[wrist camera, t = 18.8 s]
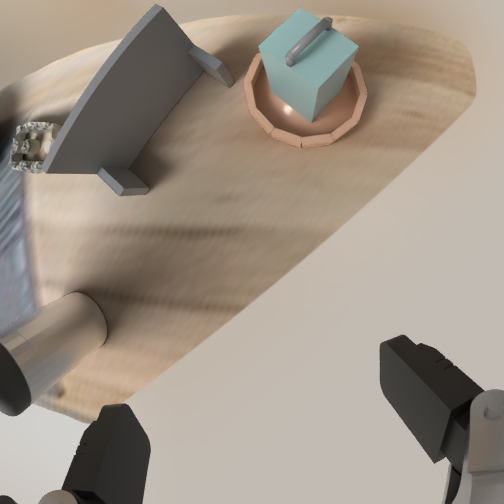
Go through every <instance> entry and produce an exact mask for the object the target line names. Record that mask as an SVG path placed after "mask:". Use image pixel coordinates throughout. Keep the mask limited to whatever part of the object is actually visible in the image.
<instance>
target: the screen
mask: <svg viewBox="0 0 504 504" xmlns="http://www.w3.org/2000/svg"><path fill="white" fill-rule="evenodd" d="M204 71H205V72H206V73H208V74H209V75H211V76H213V77H214V78H215V79H217V80H218V81H220V82H221V83H223V84H224V85H226V86H227V87H229V88H230V87H231V86H232V85H233V83H234V82H235V81H234V79H233V78H232V76H231V74H230V73H229V71H228V70H227V68H226V67H225V65H224V63H223V62H222V61H220V60H218V59H217V58H215V57H214V56H212V55H210V54H209V53H207V52H205V51H204V50H202V49H200V48H199V47H197V46H195V45H194V44H193V43H192V42H191V40H190V39H189V38H188V37H187V35H186V34H185V33H184V32H183V30H182V29H181V28H180V27H179V26H178V24H177V23H176V22H175V21H174V20H173V18H172V17H171V16H170V15H169V14H168V12H166V10H165V9H164V8H163V7H161V6H159V5H157V4H155V5H154V6H153V7H152V8H151V9H150V10H149V11H148V12H147V13H146V14H145V15H144V16H143V17H142V19H141V20H140V21H139V22H138V23H137V24H136V25H135V26H134V27H133V29H132V30H131V31H130V32H129V33H128V34H127V35H126V37H125V38H124V39H123V40H122V41H121V43H120V44H119V45H118V46H117V48H116V49H115V50H114V51H113V53H112V54H111V55H110V56H109V58H108V59H107V60H106V62H105V63H104V64H103V66H102V67H101V68H100V70H99V71H98V72H97V74H96V75H95V77H94V78H93V79H92V81H91V82H90V84H89V85H88V87H87V88H86V90H85V91H84V93H83V94H82V96H81V97H80V99H79V100H78V102H77V103H76V105H75V106H74V108H73V110H72V111H71V113H70V115H69V116H68V118H67V120H66V121H65V123H64V125H63V126H62V128H61V130H60V132H59V133H58V135H57V137H56V139H55V141H54V143H53V144H52V146H51V148H50V150H49V152H48V154H47V156H46V158H45V160H44V162H43V164H42V166H41V168H42V169H43V170H44V172H45V173H46V174H97V175H98V176H99V177H100V178H101V179H102V180H103V181H104V182H105V183H106V184H107V185H108V186H109V187H110V188H111V189H112V190H113V191H114V192H115V193H116V194H117V195H119V196H132V195H146V193H147V192H148V190H149V189H150V187H148V186H147V185H146V184H145V183H144V182H143V181H142V180H141V179H140V178H138V177H137V176H136V175H135V174H134V173H133V172H132V171H131V170H130V169H129V168H130V166H131V165H132V163H133V162H134V160H135V159H136V157H137V156H138V155H139V153H140V152H141V150H142V149H143V147H144V146H145V145H146V143H147V142H148V140H149V139H150V138H151V136H152V135H153V134H154V132H155V131H156V130H157V128H158V127H159V126H160V124H161V123H162V122H163V120H164V119H165V118H166V116H167V115H168V114H169V113H170V111H171V110H172V109H173V108H174V106H175V105H176V104H177V103H178V101H179V100H180V99H181V98H182V97H183V95H184V94H185V93H186V92H187V91H188V89H189V88H190V87H191V86H192V85H193V83H194V82H195V81H196V80H197V79H198V78H199V77H200V75H201V74H202V73H203V72H204Z"/></svg>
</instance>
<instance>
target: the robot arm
mask: <svg viewBox="0 0 504 504" xmlns="http://www.w3.org/2000/svg"><path fill="white" fill-rule="evenodd" d="M106 337H107V325H106V321H105V318H104V316H103V313H102V312H101V310H100V308H99V307H98V306H97V304H96V303H95V302H94V301H93V300H92V299H91V298H90V297H88V296H87V295H85V294H83V293H79V292H73V293H70V294H68V295H66V296H64V297H62V298H60V299H58V300H56V301H54V302H52V303H50V304H48V305H46V306H44V307H42V308H40V309H38V310H36V311H34V312H32V313H30V314H28V315H27V316H25V317H23V318H21V319H19V320H17V321H15V322H13V323H11V324H10V325H8V326H6V327H4V328H2V329H0V411H1V412H2V413H5V414H6V415H9V416H17V415H19V414H21V413H22V412H23V411H24V410H25V409H27V408H28V407H29V406H30V405H31V404H32V403H34V402H35V401H36V400H37V399H38V398H39V397H41V396H42V395H43V394H44V393H45V392H46V391H47V390H49V389H50V388H51V387H52V386H53V385H55V384H56V383H57V382H58V381H59V380H60V379H62V378H63V377H64V376H65V375H66V374H68V373H69V372H70V371H71V370H72V369H74V368H75V367H76V366H77V365H78V364H80V363H81V362H82V361H83V360H84V359H86V358H87V357H88V356H89V355H91V354H92V353H93V352H94V351H95V350H97V349H98V348H99V347H100V346H102V344H103V343H104V342H105V340H106ZM380 384H381V389H382V391H383V394H384V396H385V397H386V398H387V400H388V401H389V403H390V404H391V405H392V407H393V408H394V409H395V411H396V412H397V413H398V415H399V416H400V417H401V419H402V420H403V422H404V423H405V424H406V426H407V427H408V428H409V430H410V431H411V432H412V434H413V435H414V436H415V437H416V439H417V441H418V442H419V443H420V445H421V446H422V447H423V449H424V450H425V452H426V453H427V454H428V456H429V457H430V458H431V460H432V461H433V463H434V464H435V463H436V462H438V461H440V460H442V459H443V458H445V457H447V459H448V460H449V461H450V465H449V468H448V475H447V481H446V486H445V491H444V497H443V501H442V504H504V391H503V390H497V389H493V390H488V391H484V390H483V389H482V388H481V387H480V386H478V385H477V384H476V383H475V382H473V380H472V379H470V378H469V377H468V376H467V375H466V374H465V373H463V372H462V371H461V370H460V369H459V368H458V367H457V366H454V365H453V363H452V362H451V361H450V360H448V359H445V356H443V355H442V354H441V353H440V352H439V351H438V350H437V349H435V348H433V347H430V346H428V345H425V344H422V343H420V344H418V345H416V344H415V343H413V342H412V341H411V340H410V339H409V338H408V337H407V336H405V335H400V336H398V337H395V338H392V339H390V340H387V341H384V342H382V343H381V344H380ZM150 452H151V448H150V442H149V439H148V436H147V434H146V433H145V431H144V430H143V428H142V426H141V425H140V423H139V422H138V420H137V418H136V417H135V415H134V413H133V412H132V410H131V408H130V407H129V405H127V404H113V405H105V406H103V407H102V409H101V412H100V414H99V416H98V419H97V421H93V422H92V423H91V425H90V426H89V427H88V428H87V429H86V430H85V431H84V433H83V436H82V438H81V441H80V445H79V446H78V448H77V450H76V455H74V458H73V460H72V463H71V465H70V468H69V471H68V473H67V476H66V478H65V481H64V484H63V486H62V489H61V490H55V491H52V492H49V493H47V494H46V495H44V497H42V499H41V500H40V502H39V503H38V504H142V502H143V496H144V489H145V483H146V476H147V470H148V464H149V458H150ZM0 504H17V503H16V502H15V501H14V500H13V499H12V498H10V497H9V496H5V495H4V496H3V495H1V496H0Z"/></svg>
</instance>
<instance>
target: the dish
mask: <svg viewBox="0 0 504 504" xmlns="http://www.w3.org/2000/svg"><path fill="white" fill-rule="evenodd" d="M244 89H245V94H246V99H247V105H248V110H249V112H250V113H251V115H252V116H253V118H254V119H255V120H256V121H257V122H258V123H259V124H260V125H261V126H262V127H263V129H264V130H265V131H266V132H267V133H268V134H269V135H270V136H271V137H272V138H273V139H276V140H279V141H282V142H285V143H287V144H290V145H293V146H296V147H298V148H301V147H302V148H309V147H316V146H323V145H331V144H333V143H334V142H335V141H337V140H338V139H339V138H341V137H342V136H343V135H344V134H346V133H347V132H348V131H350V130H351V129H352V128H354V127H355V125H356V124H357V123H358V122H359V120H360V117H361V114H362V111H363V108H364V105H365V102H366V99H367V96H368V95H367V94H368V93H367V90H366V86H365V82H364V78H363V75H362V71H361V68H360V67H359V65H358V64H357V63H356V62H355V61H354V60H353V63H352V65H351V67H350V70H349V72H348V75H347V77H346V79H345V82H344V84H343V87H342V89H341V91H340V93H339V94H338V95H337V96H336V97H335V99H334V100H333V101H332V102H331V103H330V104H329V105H328V106H327V107H326V108H325V109H324V110H323V112H322V113H321V114H320V115H319V116H318V117H317V118H316V119H315V120H314V121H313V122H312V124H311V123H310V122H309V121H308V120H306V119H305V118H304V117H303V116H301V115H300V114H299V113H298V112H296V111H295V110H294V109H293V108H291V107H290V106H289V105H287V104H286V103H285V102H283V101H282V100H281V99H279V98H278V97H277V96H275V95H274V94H273V93H272V91H271V87H270V84H269V80H268V77H267V73H266V70H265V67H264V63H263V60H262V57H261V53H260V52H259V53H258V54H257V55H255V57H254V58H253V60H252V63H251V65H250V67H249V70H248V72H247V74H246V77H245V79H244Z"/></svg>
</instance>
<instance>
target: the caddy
mask: <svg viewBox="0 0 504 504" xmlns="http://www.w3.org/2000/svg"><path fill="white" fill-rule="evenodd" d="M331 26H332V19H331V18H329V17H326V18H323V19H322V20H320V19H318V18H317V17H315V16H313V15H312V14H310V13H308V12H307V11H305V10H304V9H302V8H299V9H298V10H297V11H296V12H295V13H294V14H292V15H291V16H290V17H289V18H288V19H287V20H286V21H285V22H283V23H282V24H281V25H280V26H279V27H278V28H277V29H276V30H275V31H274V32H273V33H272V34H271V35H270V36H269V37H267V38H266V39H265V40H264V41H263V42H262V43H261V44H260V45H259V46H258V47H259V50H260V53H261V57H262V60H263V63H264V67H265V70H266V73H267V77H268V80H269V84H270V87H271V91H272V93H273V94H274V95H275V96H277V97H278V98H279V99H281V100H282V101H283V102H285V103H286V104H287V105H289V106H290V107H291V108H293V109H294V110H295V111H296V112H298V113H299V114H300V115H301V116H303V117H304V118H305V119H306V120H308V121H309V122H310V123H311V124H312V122H313V121H314V120H315V119H316V118H317V117H318V116H319V115H320V114H321V113H322V112H323V110H324V109H325V108H326V107H327V106H328V105H329V104H330V103H331V102H332V101H333V100H334V99H335V97H336V96H337V95H338V94H339V93H340V91H341V89H342V87H343V84H344V82H345V79H346V77H347V75H348V72H349V70H350V67H351V65H352V63H353V60H354V58H355V55H356V53H357V50H358V48H359V46H358V45H356V44H355V43H354V42H352V41H351V40H350V39H348V38H347V37H345V36H344V35H342V34H341V33H340V32H338V31H337V30H335V29H334V28H332V27H331Z"/></svg>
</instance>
